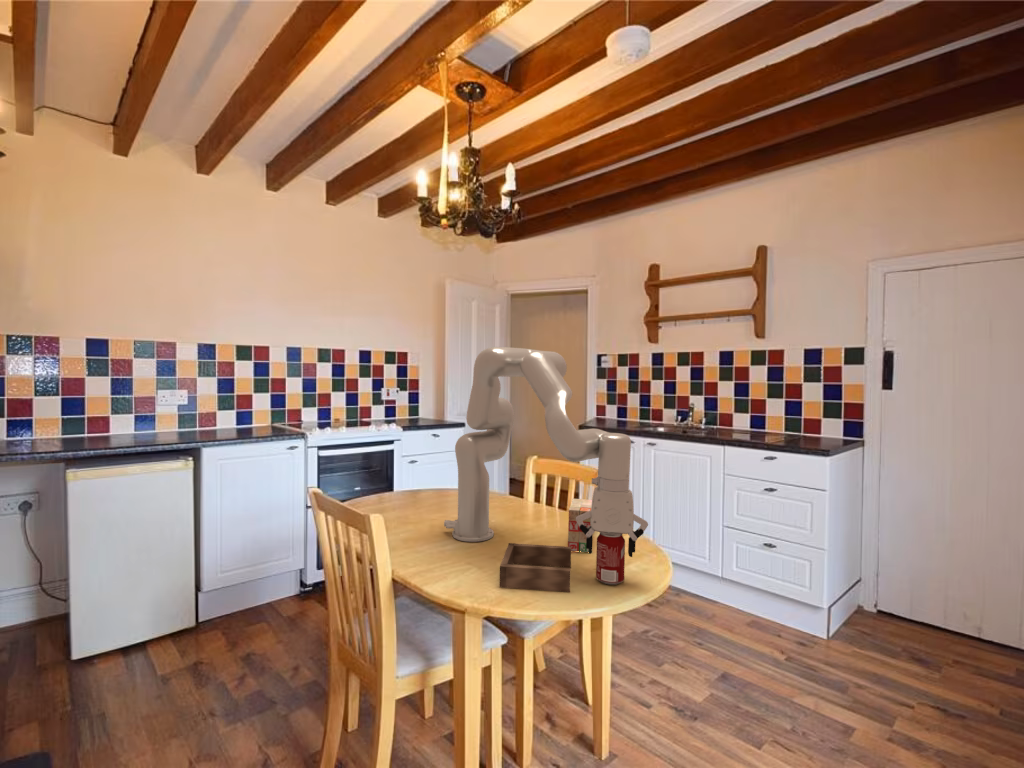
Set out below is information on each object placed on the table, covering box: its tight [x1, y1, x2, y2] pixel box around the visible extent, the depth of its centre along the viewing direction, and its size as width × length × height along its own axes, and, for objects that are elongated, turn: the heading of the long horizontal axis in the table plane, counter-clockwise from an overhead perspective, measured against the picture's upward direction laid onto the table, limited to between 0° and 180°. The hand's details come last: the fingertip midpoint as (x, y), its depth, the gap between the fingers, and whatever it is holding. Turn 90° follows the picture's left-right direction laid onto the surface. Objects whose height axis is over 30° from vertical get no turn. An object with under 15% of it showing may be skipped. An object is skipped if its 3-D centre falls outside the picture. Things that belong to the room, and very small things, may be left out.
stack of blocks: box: [567, 498, 594, 553], centre depth 155 cm, size 21×6×12 cm, turn 169°
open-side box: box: [499, 542, 572, 593], centre depth 128 cm, size 16×16×5 cm
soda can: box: [595, 532, 626, 586], centre depth 126 cm, size 7×7×12 cm
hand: (610, 553), depth 126 cm, fingers open, 9 cm apart
